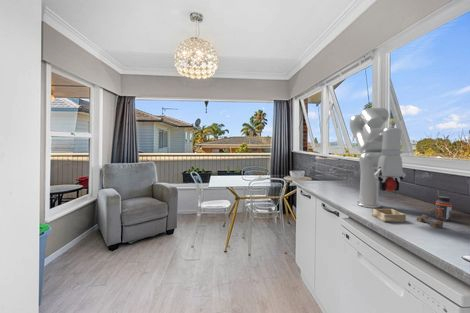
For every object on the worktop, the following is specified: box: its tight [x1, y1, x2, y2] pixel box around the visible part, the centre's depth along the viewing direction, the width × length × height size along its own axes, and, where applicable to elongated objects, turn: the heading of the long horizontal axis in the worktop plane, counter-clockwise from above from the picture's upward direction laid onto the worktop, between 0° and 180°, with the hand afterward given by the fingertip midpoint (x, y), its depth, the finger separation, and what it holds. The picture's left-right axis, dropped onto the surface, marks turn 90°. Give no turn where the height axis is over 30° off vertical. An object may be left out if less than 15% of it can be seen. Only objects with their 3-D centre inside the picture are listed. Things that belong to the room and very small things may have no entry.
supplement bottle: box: [434, 195, 453, 222], centre depth 119 cm, size 6×6×11 cm
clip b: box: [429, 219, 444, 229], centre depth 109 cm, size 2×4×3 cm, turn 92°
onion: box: [385, 177, 397, 193], centre depth 119 cm, size 6×6×8 cm
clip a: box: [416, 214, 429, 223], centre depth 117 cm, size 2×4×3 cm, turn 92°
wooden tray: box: [371, 208, 407, 223], centre depth 120 cm, size 10×10×4 cm
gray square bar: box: [417, 215, 442, 227], centre depth 113 cm, size 12×1×1 cm, turn 2°
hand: (389, 189), depth 119 cm, fingers closed on onion, 5 cm apart
